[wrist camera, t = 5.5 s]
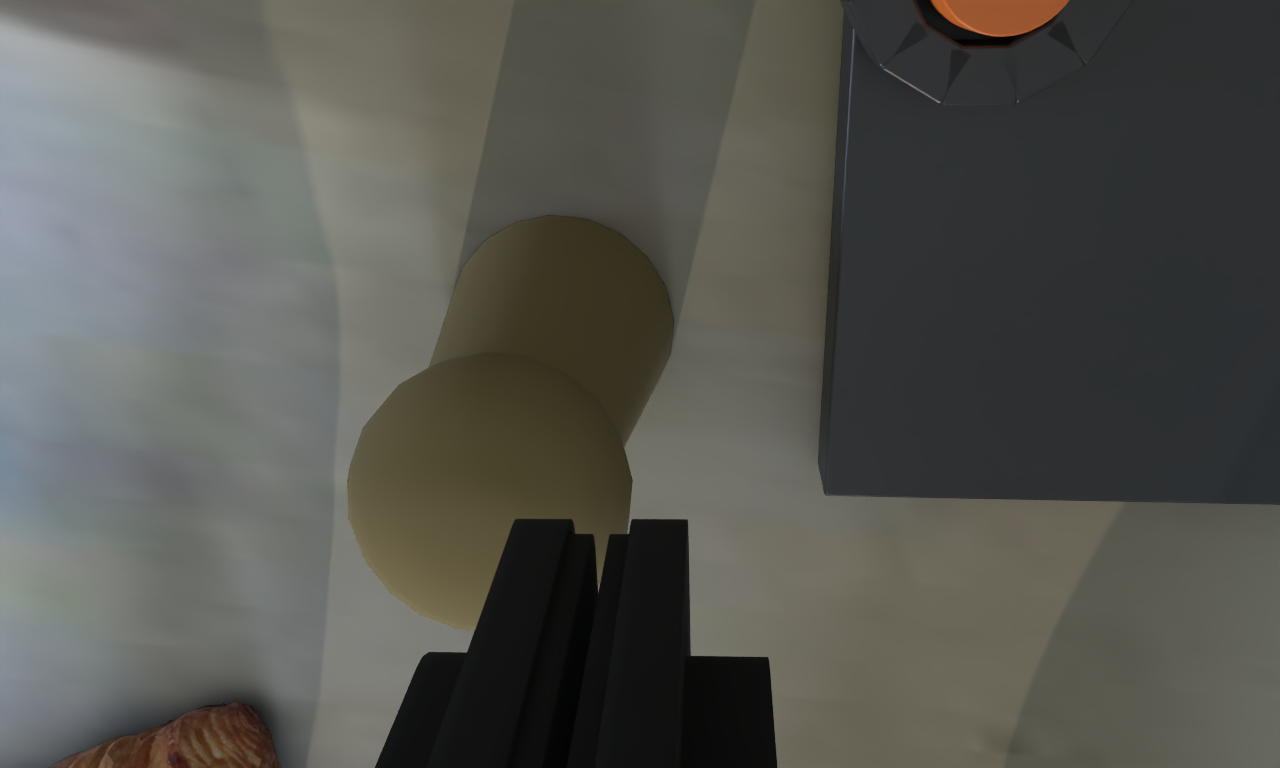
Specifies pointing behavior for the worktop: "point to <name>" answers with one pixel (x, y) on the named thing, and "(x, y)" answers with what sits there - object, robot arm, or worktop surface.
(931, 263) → the scale
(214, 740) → the pastry
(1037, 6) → the button
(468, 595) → the cork
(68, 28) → the worktop surface
